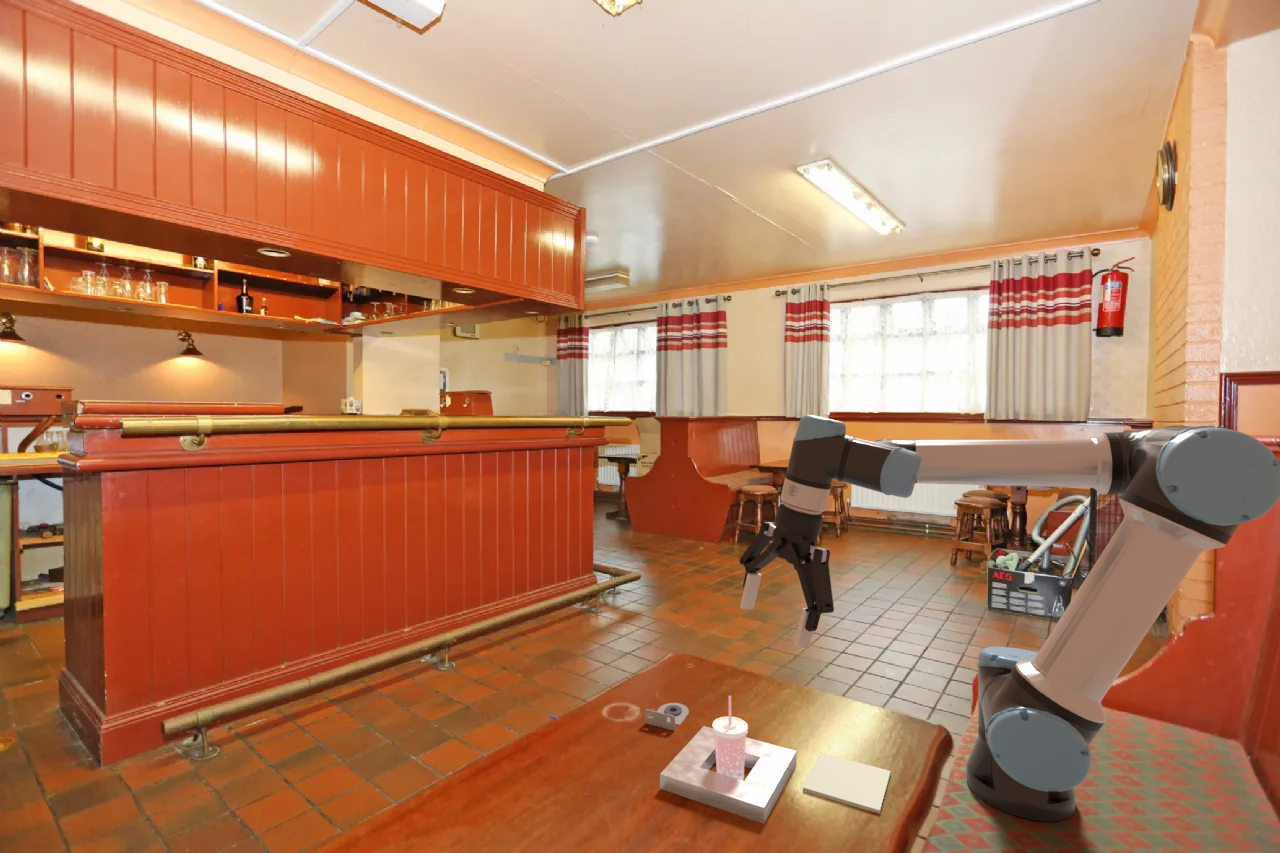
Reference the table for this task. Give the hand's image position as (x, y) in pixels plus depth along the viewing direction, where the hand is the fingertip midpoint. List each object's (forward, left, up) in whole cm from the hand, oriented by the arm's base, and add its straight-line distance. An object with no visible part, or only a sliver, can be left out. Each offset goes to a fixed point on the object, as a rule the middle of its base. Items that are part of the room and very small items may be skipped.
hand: (772, 626), depth 103 cm
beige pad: (-11, -5, -26) cm, 29 cm away
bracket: (+26, -10, -27) cm, 39 cm away
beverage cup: (+7, +3, -26) cm, 27 cm away
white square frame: (+7, +3, -26) cm, 27 cm away
